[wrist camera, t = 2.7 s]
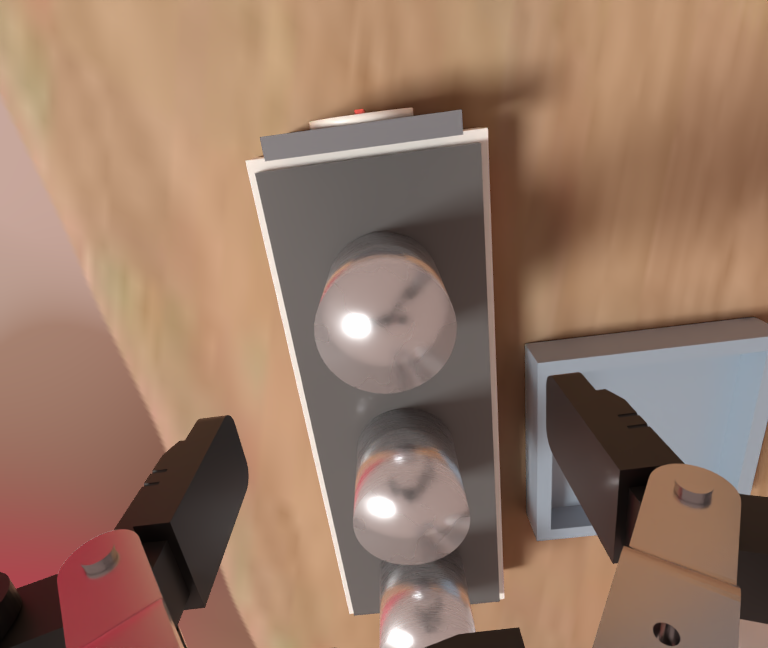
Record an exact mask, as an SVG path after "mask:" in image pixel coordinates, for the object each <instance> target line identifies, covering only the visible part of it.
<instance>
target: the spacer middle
mask: <svg viewBox="0 0 768 648" xmlns="http://www.w3.org/2000/svg"><path fill="white" fill-rule="evenodd" d="M469 526H470V513H469V508H468V504H467V500H466V495H465V491H464V487H463V483H462V478H461V474H460V470H459V466H458V461H457V457H456V453H455V449H454V444H453V440H452V437H451V434H450V431H449V430H448V428H447V427H446V425H445V424H444V423H443V422H442V421H441V420H440V419H439V418H437V417H436V416H434V415H433V414H431V413H429V412H426V411H423V410H420V409H414V408H399V409H393V410H390V411H387V412H384V413H382V414H380V415H378V416H377V417H375V418H374V419H372V420H371V421H370V422H369V423H368V424H367V425H366V426H365V428H364V429H363V431H362V433H361V435H360V437H359V441H358V451H357V467H356V483H355V499H354V515H353V528H354V532H355V535H356V537H357V539H358V541H359V542H360V544H361V545H362V546H363V547H364V548H365V549H366V550H367V551H368V552H369V553H371V554H372V555H374V556H375V557H377V558H379V559H381V560H384V561H387V562H390V563H394V564H401V565H418V564H425V563H429V562H433V561H435V560H438V559H440V558H442V557H445V556H446V555H448V554H450V553H451V552H452V551H454V550H455V549H456V548H457V547H458V546H459V545H460V544H461V543H462V541H463V540H464V538H465V537H466V535H467V533H468V530H469Z"/></svg>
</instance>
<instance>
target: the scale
mask: <svg viewBox="0 0 768 648" xmlns="http://www.w3.org/2000/svg"><path fill="white" fill-rule="evenodd" d="M354 111H355V115H348V116H341V117H335V118H328V119H322V120H316V121H310V122H309V125H310V130H308V131H301V132H294V133H287V134H279V135H272V136H265V137H260V141H261V145H262V150H263V155H264V157H257V158H253V159H250V160H246V166H247V170H248V174H249V179H250V183H251V187H252V192H253V196H254V200H255V205H256V209H257V213H258V218H259V222H260V227H261V231H262V235H263V240H264V244H265V248H266V253H267V257H268V261H269V266H270V270H271V274H272V279H273V283H274V287H275V292H276V296H277V300H278V305H279V309H280V313H281V318H282V322H283V326H284V331H285V335H286V339H287V344H288V348H289V352H290V357H291V361H292V365H293V370H294V374H295V379H296V383H297V387H298V392H299V396H300V400H301V405H302V409H303V413H304V418H305V422H306V426H307V431H308V435H309V439H310V444H311V448H312V452H313V457H314V461H315V465H316V470H317V474H318V478H319V483H320V487H321V491H322V496H323V500H324V504H325V509H326V513H327V517H328V522H329V526H330V530H331V535H332V539H333V544H334V548H335V552H336V557H337V561H338V565H339V570H340V574H341V578H342V583H343V587H344V591H345V596H346V600H347V604H348V609H349V613H350V614H352V613H354V615H364V614H375V613H380V564H381V561H382V560H381V559H379V558H377V557H375V556H374V555H372V554H371V553H369V552H368V551H367V550H366V549H365V548H364V547H363V546H362V545H361V544H360V542H359V541H358V539H357V537H356V535H355V532H354V528H353V515H354V499H355V483H356V467H357V451H358V441H359V437H360V435H361V433H362V431H363V429H364V428H365V426H366V425H367V424H368V423H369V422H370V421H371V420H372V419H374V418H375V417H377V416H378V415H380V414H382V413H384V412H387V411H390V410H393V409H399V408H414V409H420V410H423V411H426V412H429V413H431V414H433V415H434V416H436V417H437V418H439V419H440V420H441V421H442V422H443V423H444V424H445V425H446V427H447V428H448V430H449V431H450V434H451V437H452V440H453V444H454V449H455V453H456V457H457V461H458V466H459V470H460V474H461V478H462V483H463V487H464V491H465V495H466V500H467V504H468V508H469V513H470V526H469V530H468V533H467V535H466V537H465V538H464V540H463V541H462V543H461V544H460V545H459V546H458V547H457V548H456V549H455V550H456V551H457V552H458V554H459V555H460V557H461V559H462V562H463V568H464V573H465V578H466V583H467V589H468V594H469V599H470V604H478V603H488V602H499V601H500V599H504V575H503V546H502V518H501V489H500V461H499V432H498V404H497V375H496V347H495V318H494V290H493V261H492V233H491V204H490V176H489V148H488V128H480V127H477V128H470V129H463V122H462V109H461V110H454V111H447V112H440V113H432V114H425V115H418V116H413V108H402V109H393V110H385V111H378V112H370V113H365V110H363V109H359V110H354ZM380 231H388V232H395V233H400V234H403V235H406V236H408V237H410V238H412V239H414V240H415V241H417V242H418V243H420V244H421V245H422V246H423V247H424V248H425V249H426V250H427V251H428V253H429V254H430V255H431V257H432V258H433V260H434V262H435V265H436V267H437V269H438V272H439V274H440V277H441V279H442V281H443V284H444V286H445V289H446V291H447V294H448V296H449V299H450V301H451V304H452V306H453V309H454V312H455V316H456V323H457V333H456V340H455V344H454V347H453V350H452V352H451V355H450V357H449V358H448V360H447V362H446V363H445V365H444V366H443V367H442V368H441V370H440V371H439V372H438V373H437V374H435V375H434V376H433V377H432V378H431V379H429V380H428V381H427V382H425V383H423V384H421V385H420V386H417V387H415V388H413V389H410V390H407V391H403V392H398V393H388V394H382V393H372V392H367V391H363V390H360V389H357V388H355V387H353V386H351V385H349V384H347V383H345V382H344V381H342V380H341V379H340V378H338V377H337V376H336V375H335V374H334V373H333V372H332V371H331V370H330V369H329V368H328V367H327V365H326V364H325V363H324V361H323V359H322V358H321V356H320V353H319V351H318V349H317V345H316V341H315V334H314V323H315V317H316V313H317V310H318V306H319V303H320V300H321V297H322V294H323V291H324V288H325V285H326V282H327V279H328V275H329V272H330V269H331V266H332V264H333V262H334V260H335V258H336V257H337V255H338V254H339V252H340V251H341V250H342V249H343V248H344V247H345V246H346V245H347V244H348V243H350V242H351V241H353V240H354V239H356V238H358V237H360V236H362V235H365V234H368V233H373V232H380Z"/></svg>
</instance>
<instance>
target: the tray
mask: <svg viewBox="0 0 768 648" xmlns="http://www.w3.org/2000/svg"><path fill="white" fill-rule="evenodd" d="M575 372H580V373H582V374H583V376H584V377H585V378H586V379H587V380H588V381H589V383H590V384H591V385H592V386H593V387H594V388H595V390H601V389H606V390H608V391H610V392H612V393H614V394H616V395H618V396H620V397H621V398H623V399H625V400H626V401H627V402H628V403H629V404H630V406H631V407H632V408H633V409H634V410H635V411H636V412H637V415H640V416H641V417H642V418H643V419H644V421H645V422H646V423H647V425H648V427H649V426H650V427H651V428H652V429H653V430H654V431H655V432H656V433H657V434H658V436H659V437H660V438H661V439H662V440H663V441H664V442H665V443H666V444H667V445H668V446H669V447H670V448H671V450H672V451H673V452H674V453H675V454H676V455H677V456H678V457H679V458H680V459H681V460H682V461H683V462H684V463H685V464H688V465H693V466H698V467H701V468H704V469H707V470H710V471H712V472H714V473H716V474H718V475H720V476H721V477H723V478H724V479H726V480H727V481H728V482H730V483H731V484H732V485H733V486H734V487H735V488H736V490H737V491H738V493H740V494H745V495H750V493H751V489H752V485H753V480H754V476H755V472H756V468H757V464H758V459H759V455H760V451H761V447H762V443H763V438H764V434H765V430H766V426H767V422H768V324H767V323H766V322H764V321H762V320H760V319H758V318H756V317H749V318H740V319H732V320H723V321H714V322H706V323H697V324H689V325H680V326H672V327H663V328H655V329H646V330H638V331H629V332H621V333H612V334H604V335H595V336H587V337H578V338H570V339H561V340H553V341H544V342H536V343H527V344H525V418H526V514H527V516H528V519H529V521H530V524H531V527H532V529H533V532H534V535H535V537H536V540H537V541H544V540H553V539H563V538H573V537H583V536H593V535H597V534H596V532H595V530H594V528H593V526H592V525H591V523H590V521H589V519H588V517H587V516H586V514H585V512H584V510H583V508H582V507H581V505H580V503H579V501H578V499H577V497H576V496H575V494H574V492H573V490H572V488H571V487H570V485H569V483H568V481H567V479H566V478H565V476H564V474H563V472H562V470H561V468H560V467H559V465H558V463H557V461H556V459H555V458H554V456H553V454H552V452H551V449H550V446H549V443H548V439H547V432H546V381H547V377H548V376H551V375H559V374H567V373H575Z"/></svg>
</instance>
